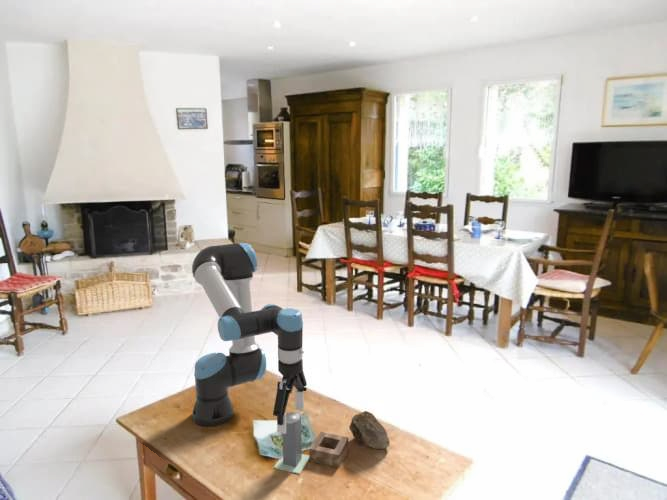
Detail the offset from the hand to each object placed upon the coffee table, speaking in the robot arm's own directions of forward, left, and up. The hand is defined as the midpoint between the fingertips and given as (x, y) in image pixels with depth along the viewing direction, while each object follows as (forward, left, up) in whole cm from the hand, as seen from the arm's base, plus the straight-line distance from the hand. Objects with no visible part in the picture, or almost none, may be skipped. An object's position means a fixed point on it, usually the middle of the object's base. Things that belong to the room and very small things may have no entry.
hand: (291, 420), depth 150 cm
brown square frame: (+10, +7, -15) cm, 19 cm away
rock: (+21, +18, -15) cm, 32 cm away
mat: (0, 0, -15) cm, 15 cm away
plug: (0, 0, -14) cm, 14 cm away
